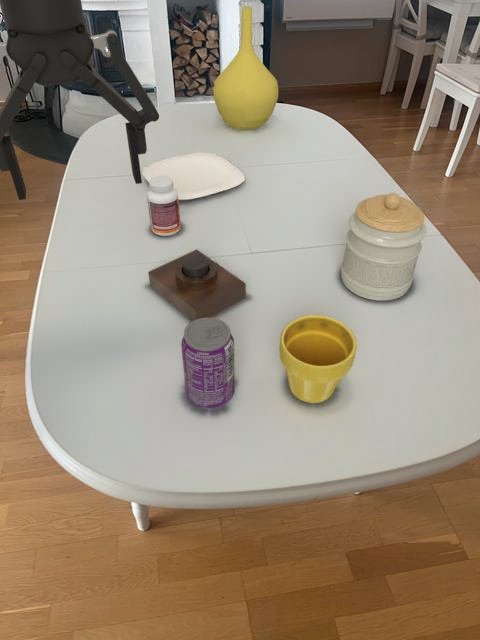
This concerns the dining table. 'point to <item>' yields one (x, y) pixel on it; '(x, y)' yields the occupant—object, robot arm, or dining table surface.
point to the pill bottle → (163, 206)
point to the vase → (245, 85)
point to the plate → (197, 174)
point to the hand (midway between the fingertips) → (81, 186)
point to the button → (195, 266)
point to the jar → (383, 247)
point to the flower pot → (316, 355)
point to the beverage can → (208, 362)
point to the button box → (197, 288)
